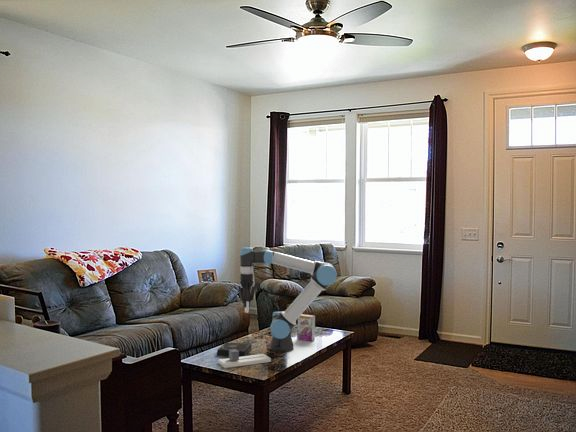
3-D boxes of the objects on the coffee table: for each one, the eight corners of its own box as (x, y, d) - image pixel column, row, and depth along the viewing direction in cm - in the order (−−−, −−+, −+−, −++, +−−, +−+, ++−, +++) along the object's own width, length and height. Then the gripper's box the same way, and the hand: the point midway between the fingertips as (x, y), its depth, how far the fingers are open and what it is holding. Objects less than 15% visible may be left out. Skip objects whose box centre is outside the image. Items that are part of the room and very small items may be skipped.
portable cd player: (224, 348, 321) (224, 342, 320) (251, 350, 318) (251, 344, 318) (216, 356, 304) (216, 349, 304) (244, 358, 301) (244, 351, 301)
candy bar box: (296, 339, 345) (297, 315, 345) (300, 337, 349) (300, 313, 349) (311, 341, 340) (312, 316, 340) (315, 340, 344) (315, 315, 344)
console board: (263, 357, 302) (263, 353, 302) (270, 361, 294) (271, 357, 294) (218, 363, 289) (218, 359, 289) (224, 368, 281) (224, 364, 281)
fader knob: (235, 357, 291) (235, 349, 291) (238, 360, 287) (238, 351, 287) (228, 358, 290) (228, 349, 290) (232, 361, 285) (232, 352, 285)
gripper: (253, 271, 315) (253, 310, 316) (234, 273, 308) (234, 312, 309) (259, 273, 309) (259, 312, 309) (239, 274, 302) (240, 314, 302)
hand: (246, 312), depth 309 cm, fingers closed
